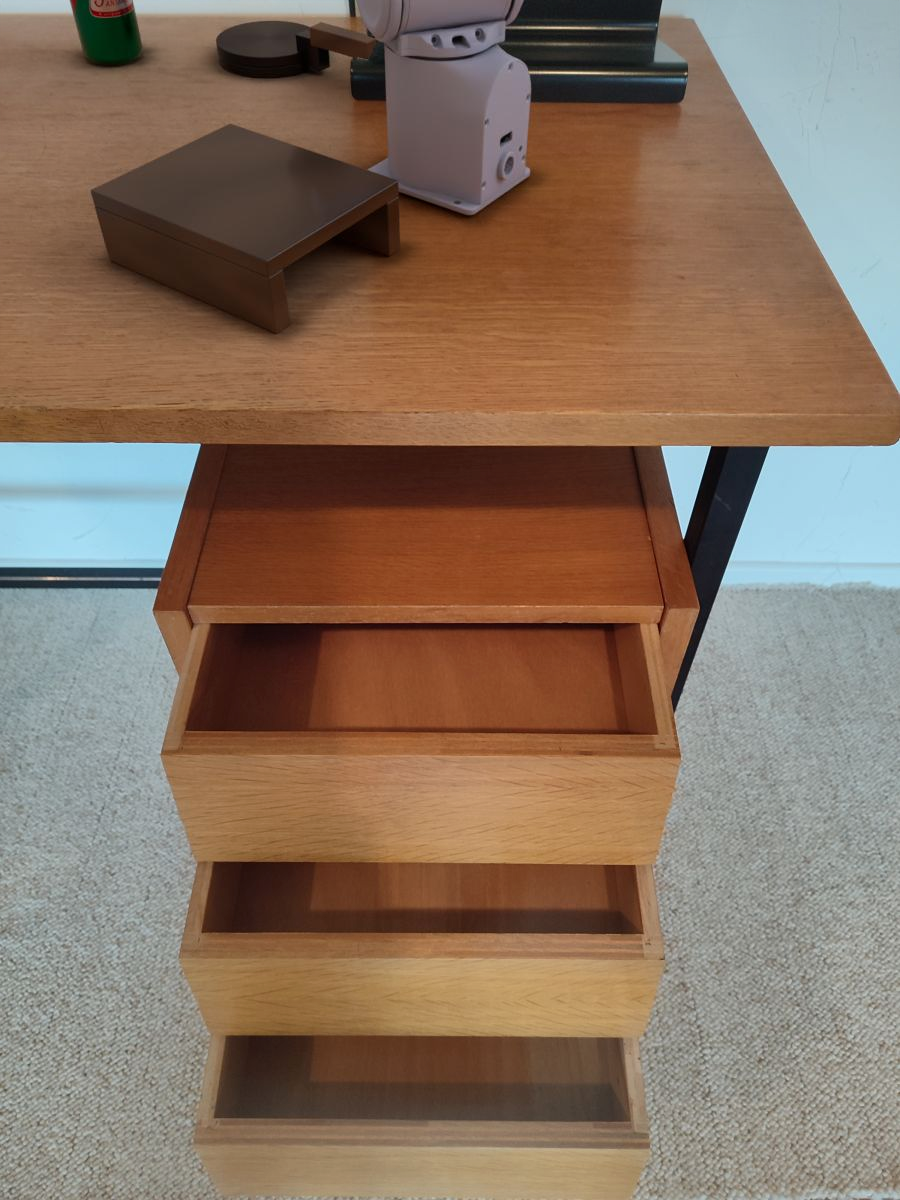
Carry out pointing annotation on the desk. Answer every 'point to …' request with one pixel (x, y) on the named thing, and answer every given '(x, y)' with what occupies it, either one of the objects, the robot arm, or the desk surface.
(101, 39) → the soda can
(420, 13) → the robot arm
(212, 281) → the brown stand
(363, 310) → the desk surface
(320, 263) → the desk surface
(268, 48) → the pan
